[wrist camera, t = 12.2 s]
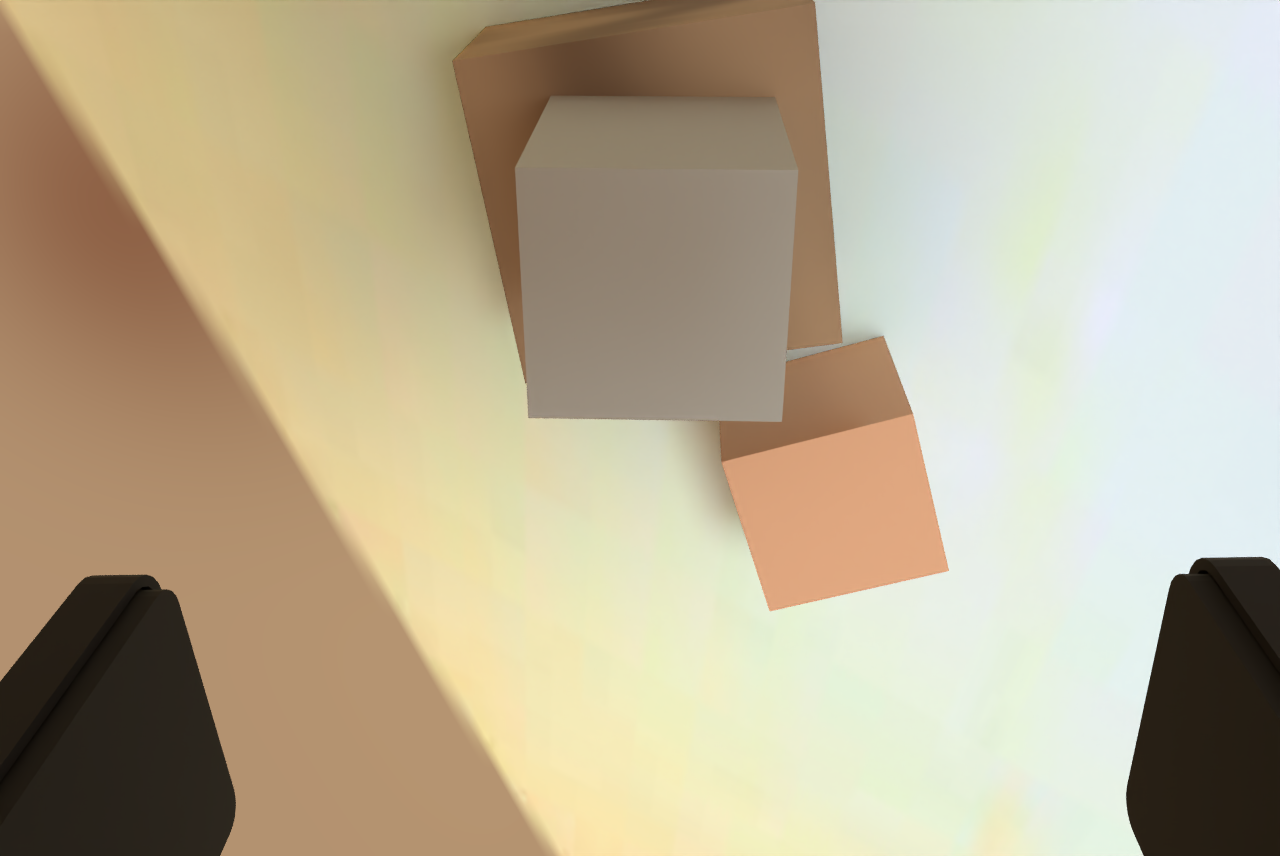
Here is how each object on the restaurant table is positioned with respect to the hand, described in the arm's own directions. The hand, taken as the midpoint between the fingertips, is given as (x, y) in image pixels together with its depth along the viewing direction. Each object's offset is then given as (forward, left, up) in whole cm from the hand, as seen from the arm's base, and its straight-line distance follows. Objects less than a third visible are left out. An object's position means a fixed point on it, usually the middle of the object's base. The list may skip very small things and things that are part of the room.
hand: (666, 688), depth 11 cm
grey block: (0, +1, -17) cm, 17 cm away
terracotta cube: (-4, +9, -22) cm, 24 cm away
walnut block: (+1, +1, -22) cm, 22 cm away
